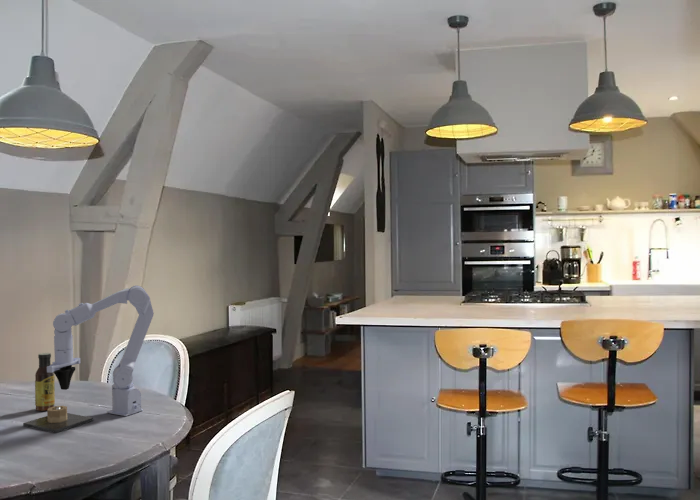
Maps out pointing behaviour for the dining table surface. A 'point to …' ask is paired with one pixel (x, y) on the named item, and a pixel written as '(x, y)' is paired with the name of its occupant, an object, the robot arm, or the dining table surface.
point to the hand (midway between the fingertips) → (64, 389)
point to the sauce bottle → (44, 384)
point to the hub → (57, 427)
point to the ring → (57, 414)
